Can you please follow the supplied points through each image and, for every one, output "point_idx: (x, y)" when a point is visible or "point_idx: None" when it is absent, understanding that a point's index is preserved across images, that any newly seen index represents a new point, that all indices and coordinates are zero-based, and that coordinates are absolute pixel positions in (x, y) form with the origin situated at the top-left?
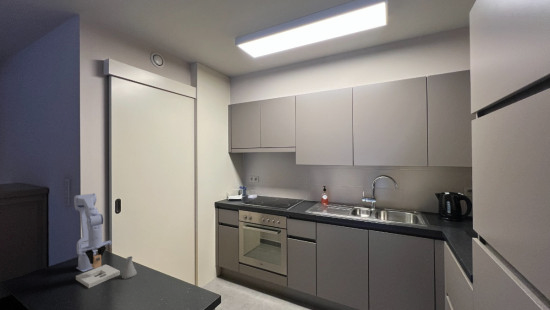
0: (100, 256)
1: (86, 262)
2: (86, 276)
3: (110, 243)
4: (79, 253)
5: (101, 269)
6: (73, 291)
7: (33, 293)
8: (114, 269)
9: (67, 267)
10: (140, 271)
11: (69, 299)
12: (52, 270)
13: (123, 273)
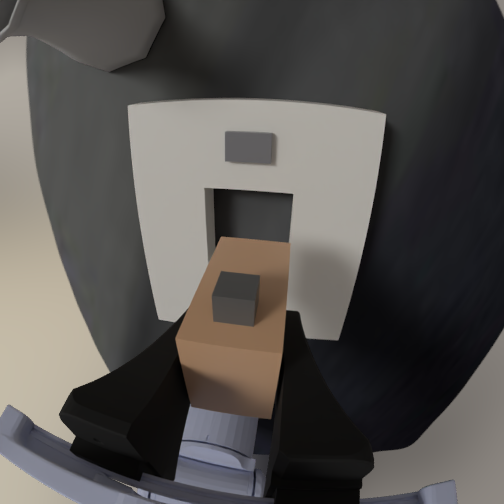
0: (191, 324)
1: None
2: (318, 272)
3: (9, 422)
4: (454, 492)
5: None
6: (438, 179)
7: (466, 349)
8: (143, 179)
9: None
10: None
11: (492, 101)
12: None
13: (137, 11)
